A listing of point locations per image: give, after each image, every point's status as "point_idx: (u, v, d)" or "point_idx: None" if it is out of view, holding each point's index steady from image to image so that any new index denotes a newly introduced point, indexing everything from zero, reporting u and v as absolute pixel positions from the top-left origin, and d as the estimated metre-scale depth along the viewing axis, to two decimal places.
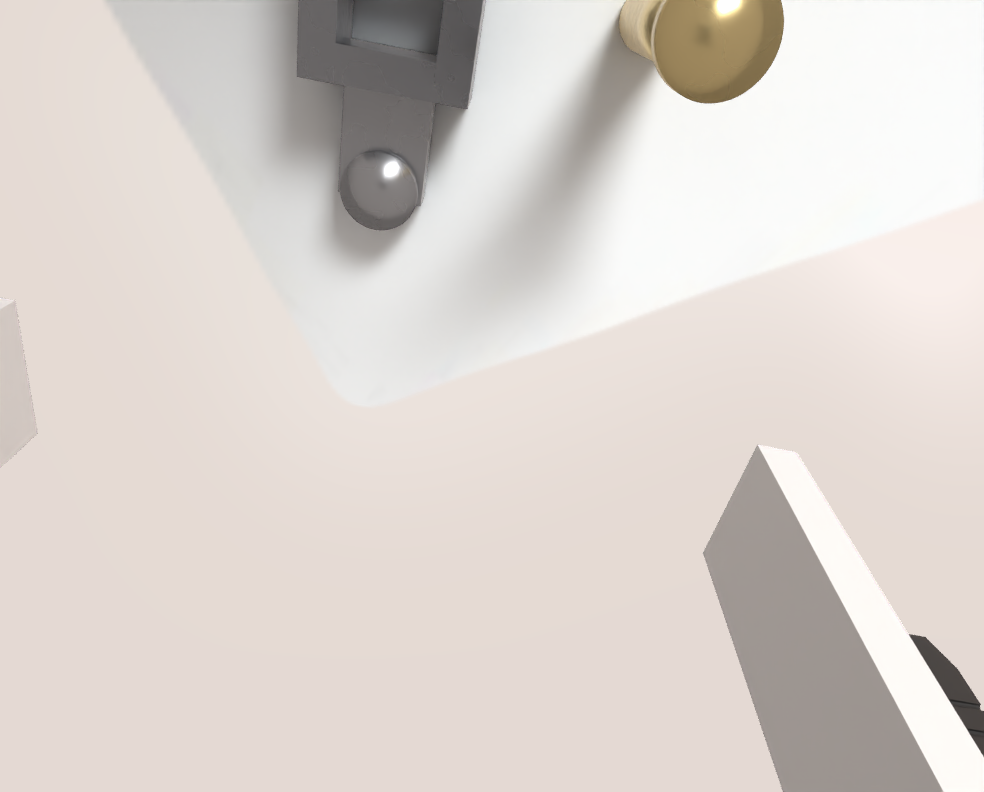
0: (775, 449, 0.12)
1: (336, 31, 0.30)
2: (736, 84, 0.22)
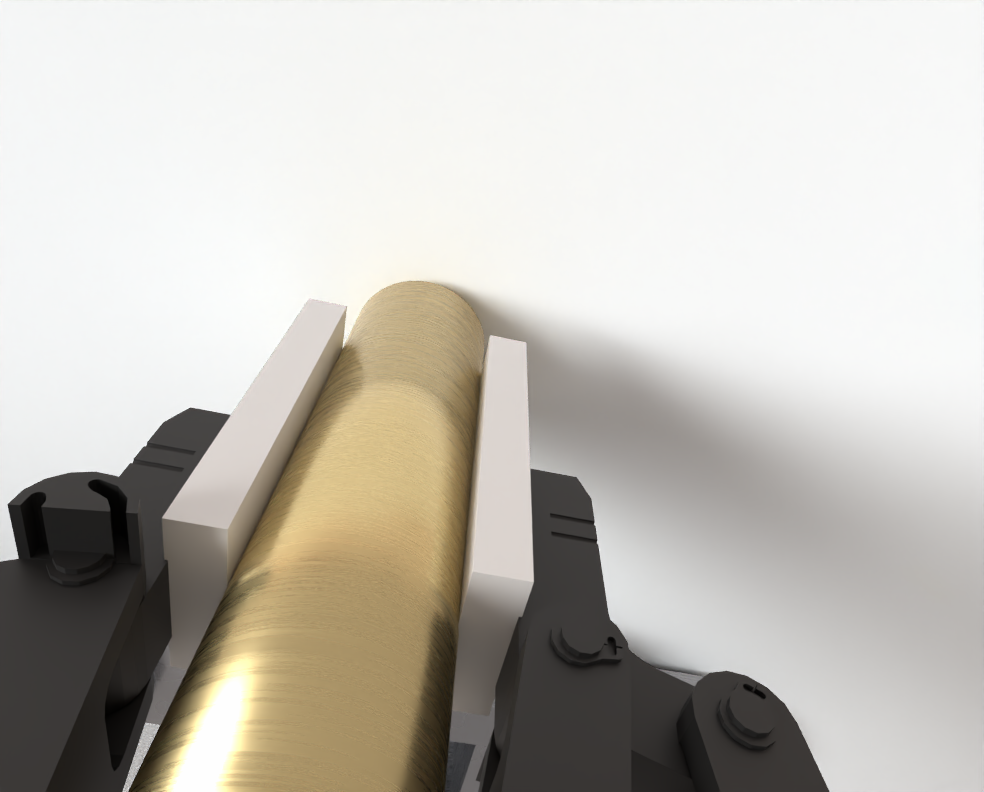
0: (505, 339, 0.14)
1: None
2: None
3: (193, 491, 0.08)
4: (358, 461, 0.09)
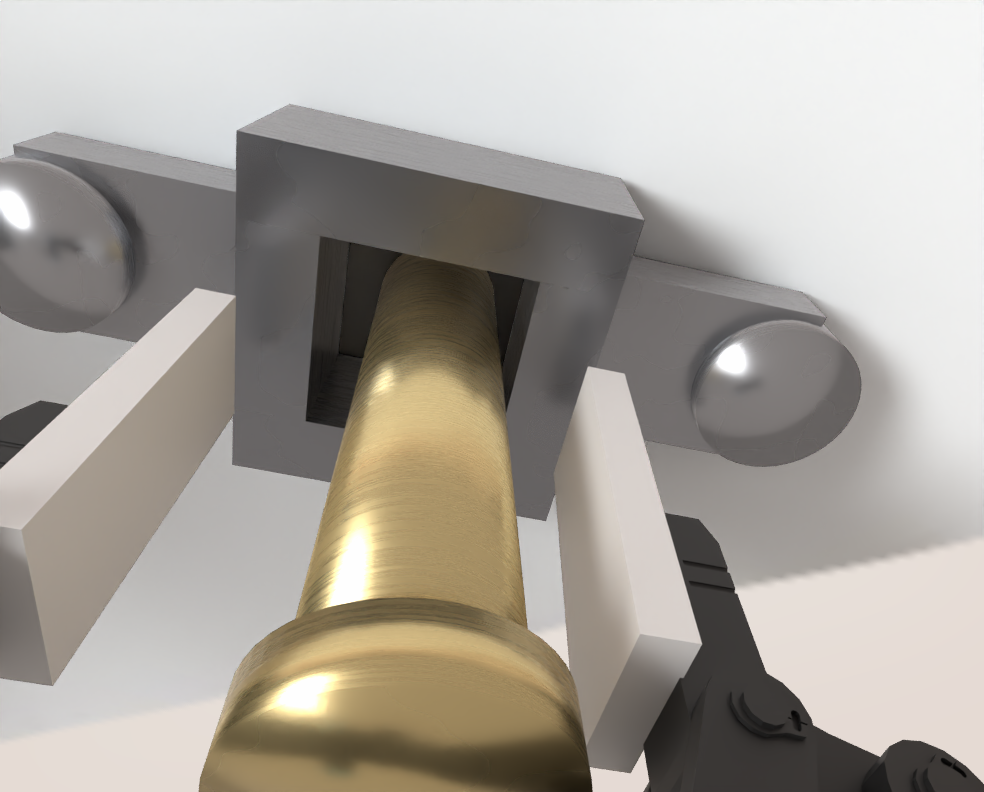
0: (603, 370, 0.13)
1: None
2: (541, 760, 0.07)
3: None
4: (426, 375, 0.12)
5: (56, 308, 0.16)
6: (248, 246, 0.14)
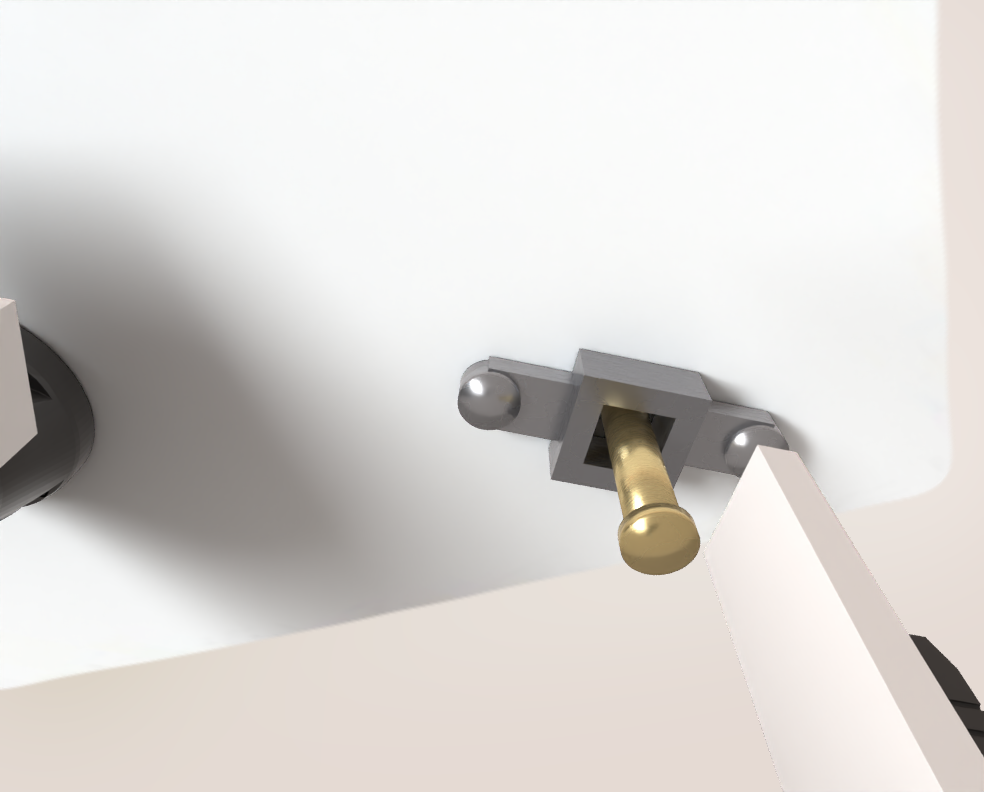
0: (775, 449, 0.12)
1: None
2: (690, 534, 0.34)
3: None
4: (643, 450, 0.39)
5: (490, 421, 0.44)
6: (578, 407, 0.41)
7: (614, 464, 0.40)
